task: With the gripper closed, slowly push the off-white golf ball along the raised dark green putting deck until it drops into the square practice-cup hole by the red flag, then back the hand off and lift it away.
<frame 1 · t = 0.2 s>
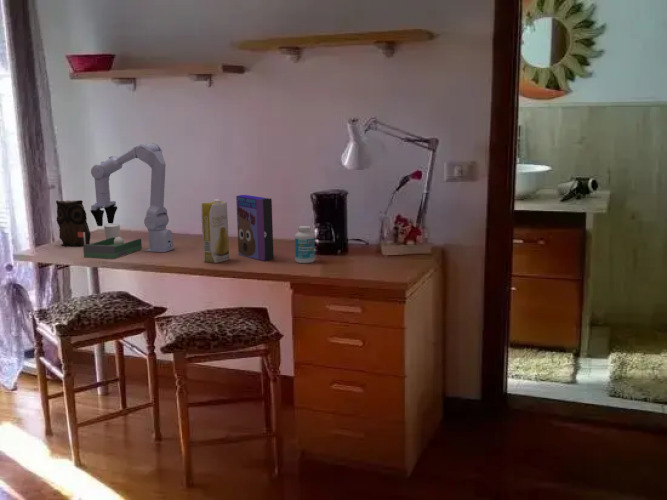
hand: (105, 224, 323), 10 cm above the table, tool pointing down, fingers open, 7 cm apart
putting green: (113, 253, 312), on the table
golf ball: (118, 241, 315), point 4 cm above the table, touching putting green
cereal box: (255, 257, 299), on the table
juice carton: (216, 261, 293), on the table
pill bottle: (305, 262, 289), on the table
owl: (78, 244, 333), on the table
grey cup: (113, 241, 340), on the table
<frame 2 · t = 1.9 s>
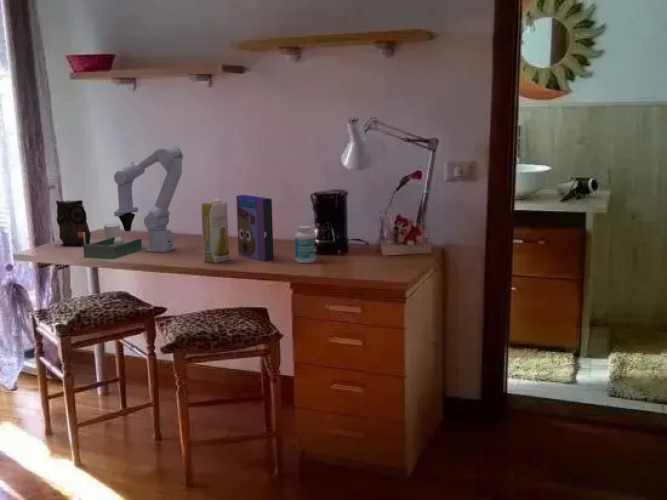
hand: (127, 231, 321), 7 cm above the table, tool pointing down, fingers closed
nothing on the table moved.
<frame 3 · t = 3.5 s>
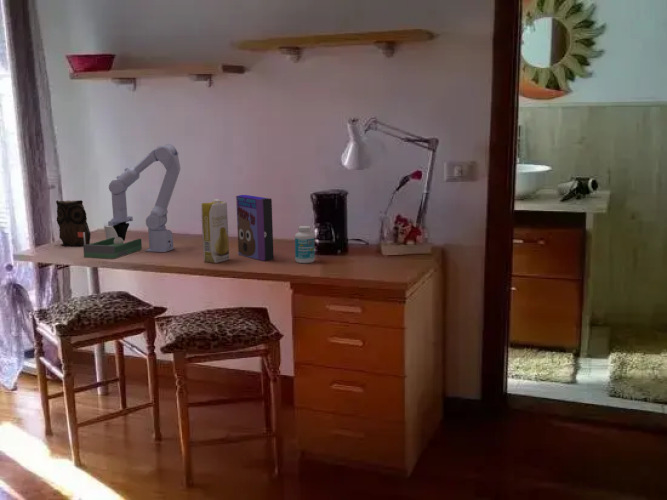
hand: (122, 240, 317), 4 cm above the table, tool pointing down, fingers closed, pressing on golf ball
golf ball: (118, 241, 315), point 4 cm above the table, touching gripper, putting green
everything else where it was.
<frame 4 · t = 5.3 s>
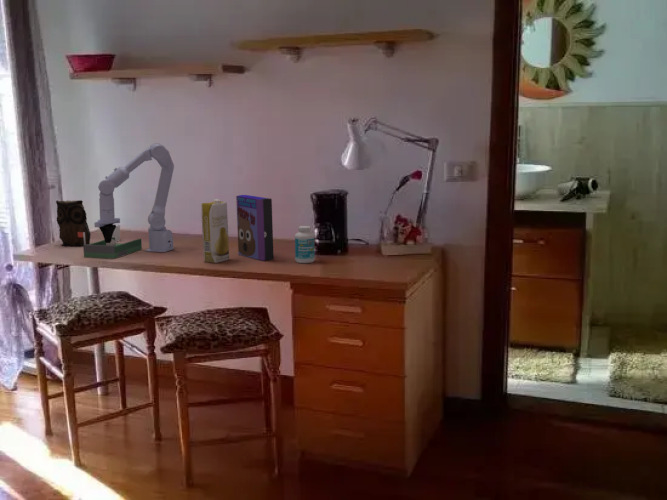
hand: (108, 242, 309), 5 cm above the table, tool pointing down, fingers closed, pressing on golf ball
golf ball: (111, 243, 310), point 4 cm above the table, tilted 137°, touching gripper, putting green
everything else where it was.
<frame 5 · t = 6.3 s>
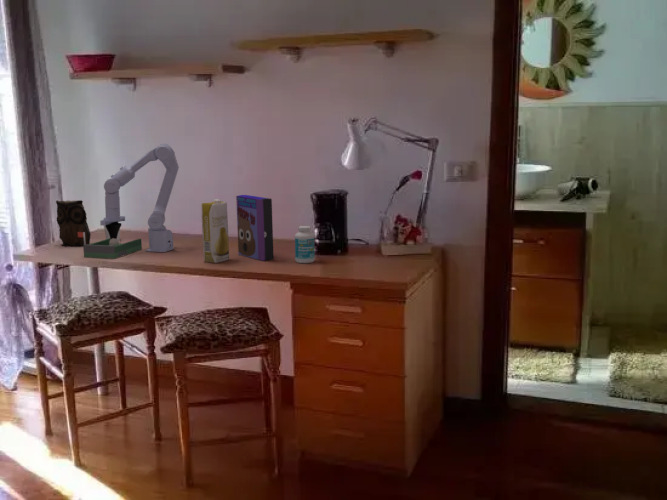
hand: (113, 240, 313), 5 cm above the table, tool pointing down, fingers closed, pressing on golf ball
golf ball: (114, 242, 313), point 4 cm above the table, tilted 74°, touching gripper, putting green
everything else where it was.
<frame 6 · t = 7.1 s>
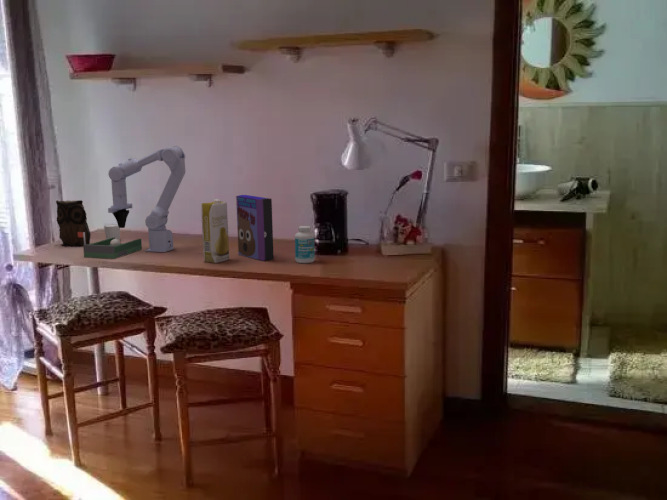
hand: (121, 227, 317), 9 cm above the table, tool pointing down, fingers closed
golf ball: (115, 243, 310), point 4 cm above the table, tilted 125°, touching putting green
everything else where it was.
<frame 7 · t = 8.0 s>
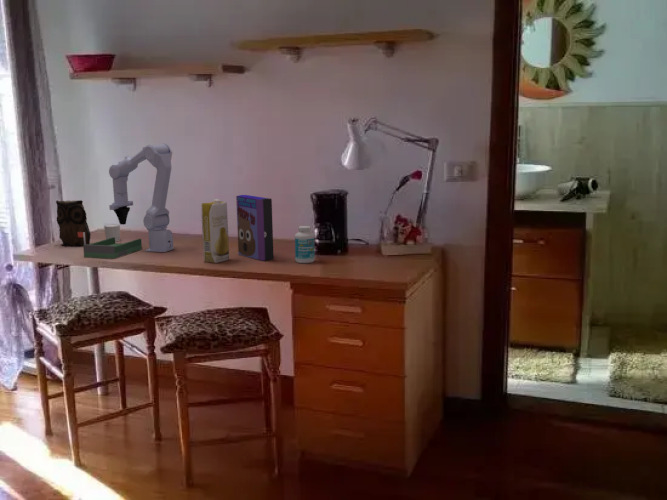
hand: (122, 224, 325), 9 cm above the table, tool pointing down, fingers closed
golf ball: (104, 250, 307), point 2 cm above the table, tilted 75°
everything else where it was.
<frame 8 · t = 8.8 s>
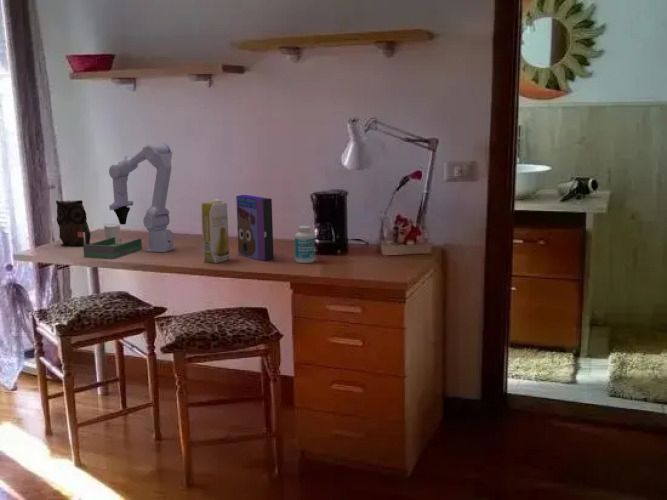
hand: (122, 224, 325), 9 cm above the table, tool pointing down, fingers closed
nothing on the table moved.
at the end: golf ball 1.1 cm from the target spot on the putting green, point 2.0 cm above the putting green's base; the gripper is holding nothing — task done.
